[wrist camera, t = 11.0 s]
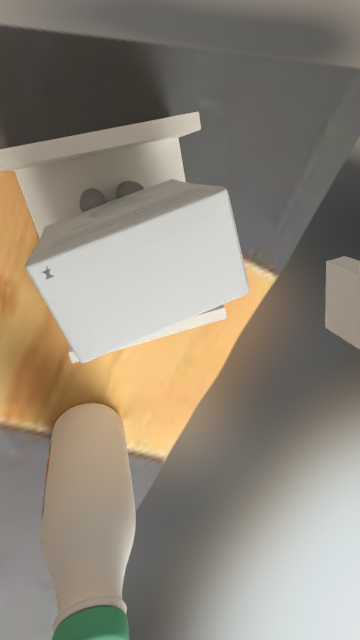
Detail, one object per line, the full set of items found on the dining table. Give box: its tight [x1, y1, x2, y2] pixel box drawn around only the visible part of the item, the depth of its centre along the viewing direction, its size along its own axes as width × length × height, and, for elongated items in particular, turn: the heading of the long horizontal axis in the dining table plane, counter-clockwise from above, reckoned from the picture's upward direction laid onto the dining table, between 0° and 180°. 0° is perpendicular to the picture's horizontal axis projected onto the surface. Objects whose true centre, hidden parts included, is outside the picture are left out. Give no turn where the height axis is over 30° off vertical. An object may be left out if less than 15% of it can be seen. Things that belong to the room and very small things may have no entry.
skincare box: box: [25, 179, 249, 363], centre depth 21 cm, size 10×6×10 cm, turn 108°
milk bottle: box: [41, 403, 135, 640], centre depth 28 cm, size 8×8×20 cm
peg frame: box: [0, 112, 227, 363], centre depth 27 cm, size 13×15×7 cm
